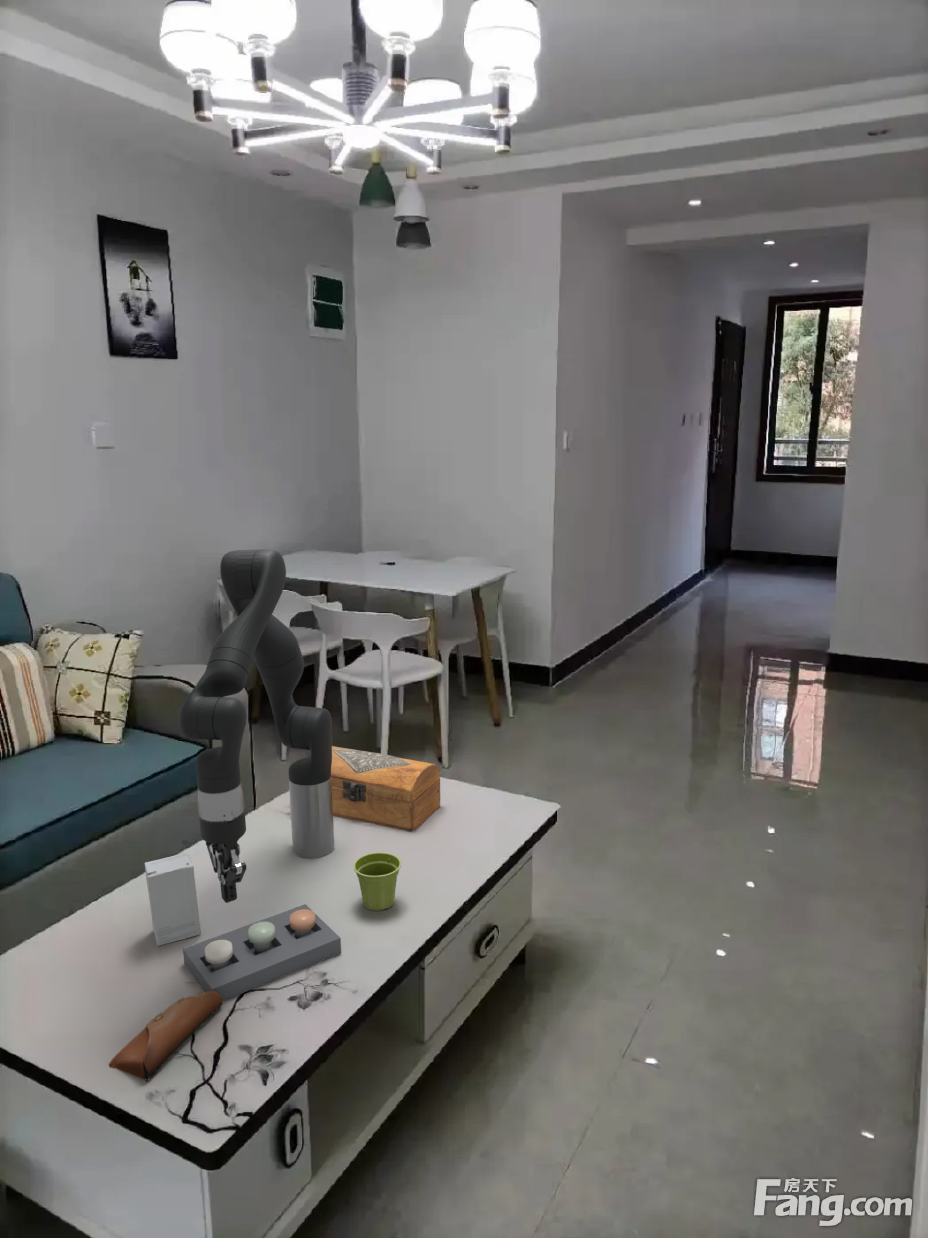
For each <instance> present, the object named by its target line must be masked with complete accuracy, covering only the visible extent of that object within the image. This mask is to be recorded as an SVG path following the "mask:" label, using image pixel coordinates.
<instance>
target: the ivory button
mask: <svg viewBox="0 0 928 1238" xmlns="http://www.w3.org/2000/svg"><path fill="white" fill-rule="evenodd" d="M232 955H233V949H232V943H231V942H230V941H227V940H216V941H213V942H211V943H209V944H208V945H207V946H206V947H205V959H206V961H207V962H209V963H211V972H214V971H216V970H219V969H222V968H224V967H227V966H229V959H230V958H231V957H232Z"/></svg>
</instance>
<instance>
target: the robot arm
mask: <svg viewBox="0 0 928 1238" xmlns="http://www.w3.org/2000/svg"><path fill="white" fill-rule="evenodd" d="M286 567H287V566H286V563H285V559H284V558H283V555H282V554H281V552H279V551H278V550H275V549H267V548H266V549H265V548H264V549H240V550H239V549H236V550H232V551H228V552H226V553H225V554H224V555H223V556H222V558H221V560H220V569H219V570H220V571H219V572H220V578H221V583H222V586H223V589H224V591H225V594H226V596H227V598H228V601H229V603H230V604H231V606H232V608H233V610H234V612H235V614H236V616H237V617H236V618H235V619H234V620H233V621H232V622H231V623H230V624H229V625H228V626H227V627H226V628H225V629H223V631H222V632H221V633H220V634H219V636H218V637H217V639H216V640H215V642H214V644H213V647H212V649H211V652H210V656H209V658H208V662H207V664H206V667H205V671H204V673H203V675H202V676H201V677H200V679H199V680H198V682H196V685H195V686H194V687H193V689H192V690H191V692H190V693H189V694H188V695H187V697H186V699H185V700H184V702H183V704H182V706H181V709H180V712H179V718H178V719H179V720H178V722H179V727H180V730H181V733H182V734H183V735H184V736H185V737H187V738H189V739H193V740H208V741H209V740H210V741H212V740H213V741H221V745H220V746H217V747H213V748H208V749H205V750H203V751H201V752H200V753H199V754H198V755H197V756H196V759H195V773H196V784H197V785H196V786H197V811H198V821H199V831H200V832H199V833H200V837H201V840H202V841H204V842H205V845H206V849H207V852H208V855H209V858H210V859H209V860H210V861H211V865H212V868H213V871H214V873H215V874H217V879H218V881H219V882H220V884H219V885H220V892H221V899H222V900H223V901H224V903H225V904H226V903H227V904H228V903H231V902H234V901H236V900H237V898H238V893H237V884H238V883H241V882H243V881H242V880H243V878H244V875H245V873H246V871H247V864H246V862H241V861H240V854H241V846H240V844H239V843H238V841H239V840H240V839H241V838H242V837H243V836H244V835H245V834H246V832H247V823H246V812H245V811H246V809H245V800H244V798H245V797H244V791H243V787H242V782H241V779H242V778H241V769H240V768H241V767H240V754H241V748H242V741H243V737H244V733H245V728H246V724H247V716H248V715H247V711H246V708H245V707H246V706H245V705H244V704H243V703H242V701H241V700H239V699H238V698H236V697H231V696H233V695H236V694H239V693H240V692H242V691H243V689H244V688H245V686H246V683H247V680H248V677H249V674H250V669H251V666H252V662H253V660H254V662H255V665H256V667H257V670H258V673H259V674H260V677H261V680H262V683H263V685H264V688H265V691H266V694H267V696H268V699H269V704H270V707H271V711H272V716H273V720H274V723H275V728H276V732H277V735H278V738H279V740H280V742H281V744H282V745H283V746H285V747H286V748H290V749H295V750H297V749H299V750H307V751H310V756H307V757H303V758H301V759H298V760H296V761H294V762H292V763H291V764H290V766H289V767H288V785H289V787H288V788H289V803H290V805H289V806H290V807H289V808H290V823H291V841H292V842H291V843H292V851H293V853H294V854H295V855H296V856H298V857H301V858H305V859H315V858H321V857H325V856H327V855H329V854H330V853H332V852H333V850H334V849H335V832H334V831H335V827H334V816H333V801H332V780H331V765H332V746H333V722H332V720H333V719H332V716H331V713H330V711H329V710H328V709H327V708H323V707H315V706H314V707H313V706H304V705H303V706H301V705H298V704H297V703H296V702H295V700H294V697H293V693H294V691H295V689H296V687H297V685H298V684H299V682H300V680H301V677H302V676H303V674H304V673H303V672H304V669H305V659H304V657H303V654H302V651H301V647H300V645H299V644H300V643H299V642H298V640H297V639H298V638H297V637H296V635H295V634H294V632H293V631H291V629H290V628H289V627H288V626H287V625H286V624H284V623H283V622H282V621H281V620H280V619H278V618H277V617H276V616H275V615H273V613H274V611H275V608H276V606H277V605H278V603H279V600H280V599H281V596H282V593H283V592H284V588H285V585H286V579H287V569H286Z"/></svg>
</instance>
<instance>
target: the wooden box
mask: <svg viewBox="0 0 928 1238" xmlns="http://www.w3.org/2000/svg"><path fill="white" fill-rule="evenodd" d="M440 772H441V771H440V768H439V766H438V765H436V764H434V763H430V762H426V761H419V760H413V759H408V758H403V757H402V758H401V757H397V756H395V755H394V756H393V755H389V754H385V753H379V752H372V751H371V752H370V751H365V750H358V749H352V748H345V747H339V746H335V745H332V765H331V780H332V801H333V817H337V818H342V819H348V820H353V821H357V822H363V823H368V824H372V825H378V826H382V827H387V828H392V829H396V830H400V831H405V832H414V831H416V830H417V829H418V828H419V827H420V826H421V825H423V823H425V821H427V819H429V818H430V817H431V816H432V815H433V814H434V813H435V812H436V811H437V810H438V809H439V808H440V807H441V778H440V777H441V773H440Z"/></svg>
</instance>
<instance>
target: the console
mask: <svg viewBox="0 0 928 1238" xmlns="http://www.w3.org/2000/svg"><path fill="white" fill-rule="evenodd" d="M302 909H307V910H311V911H313V910H312V909H311V908H310V907H309V906H308V905H307V904H306V903H304V904H301V905H299V906H295V907H294V908H291V909H288V910H285V911H282V912H280V913H276V914H274V915H272V916H269V917H266V918H264V919H261V920H258V921H255V922H253V923H249V924H247V925H244V926H241V927H239V928H236V929H232V930H231V931H228V932H225V933H222V934H219V935H216V936H214V937H211V938H207V939H206V940H203V941H200V942H197V943H195V944H192V945H189V946H186V947H183V948H182V951H183V952H182V954H183V964H184V966H185V967H186V968H187V970H188V971H189V972H190V975H192V977H193V978H194V979H195V981H196V983H197V984H198V985H199V987H200V988H201V989H202V991H203V993H205V992H208V991H216V992H217V993H219V995H220V996H221V998H222V1002H224V1001H226V1000H229V999H232V998H234V997H236V996H239V995H241V994H244V993H246V992H248V991H251V990H254V989H256V988H259V987H260V986H263V985H265V984H268V983H270V982H272V981H275V980H277V979H280V978H283V977H285V976H288V975H290V974H292V973H294V972H297V971H299V970H302V969H305V968H307V967H309V966H311V965H314V964H316V963H319V962H322V961H323V960H326V959H328V958H331V957H334V956H336V955H339V954H341V953H342V944H341V943H342V942H341V939H342V938H341V937H340V936H339V935H338V933H336V932H335V931H334V930H333V929H332V928H331V927H330V926H329V925H328V924H327V923H326V922H325V921H324V920H323V919H322V918H320V917H319V916H318V915H317V914H316V913H315V925H314V927H313V928H311V933H312V934H309V935H306V936H304V937H301V938H299V939H296V938H295V930H293V929H292V928H291V927H290V915H291V914H292V913H293V912H295V911H297V910H302ZM258 922H270V923H272V924H273V925H274V926H275V938H274V939H273V940H272V941H271V949H270V950H268V951H265V952H263V953H260V954H258V955H256V954H255V953H254V944H253V943H251V942H250V941H249V934H248V929H249V928H250V926H252V925H253V924H255V923H258ZM216 940H227V941H230V942H231V943H232V949H233V955H232V957H231V958H230V959H229V966H227V967H224V968H222V969H219V970H216V971H214V972H211V963H209V962H207V961H206V959H205V947H206V946H207V945H208V944H209V943H211V942H213V941H216Z"/></svg>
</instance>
